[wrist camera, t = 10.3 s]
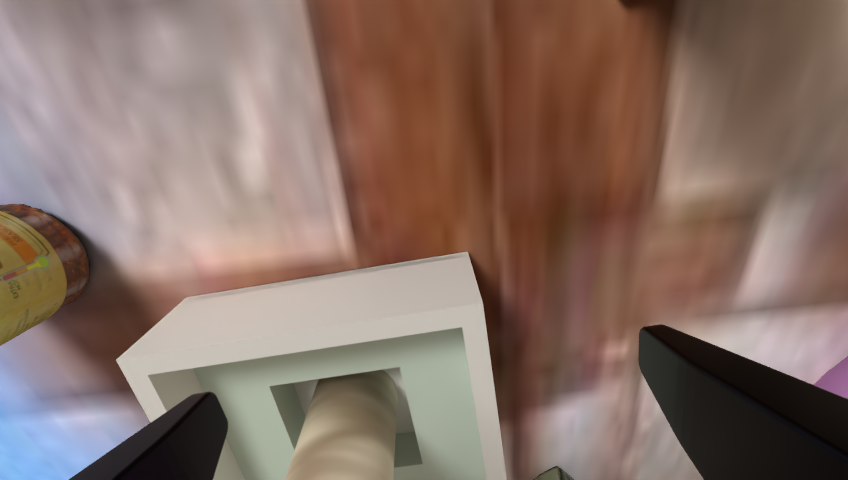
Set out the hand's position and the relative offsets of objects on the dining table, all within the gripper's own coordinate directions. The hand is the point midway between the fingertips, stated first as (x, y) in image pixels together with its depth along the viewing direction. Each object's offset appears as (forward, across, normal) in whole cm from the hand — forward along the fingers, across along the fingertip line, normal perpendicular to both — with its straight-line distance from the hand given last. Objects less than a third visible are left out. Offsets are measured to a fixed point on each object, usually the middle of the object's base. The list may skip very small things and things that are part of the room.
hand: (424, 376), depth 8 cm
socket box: (+13, +6, +11) cm, 18 cm away
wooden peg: (+12, +6, +11) cm, 17 cm away
